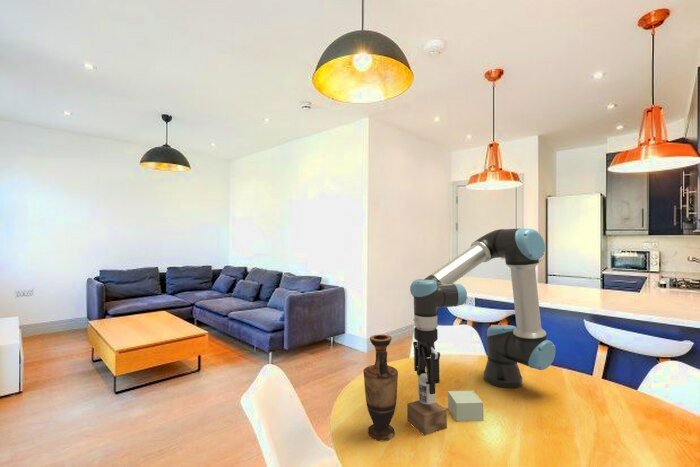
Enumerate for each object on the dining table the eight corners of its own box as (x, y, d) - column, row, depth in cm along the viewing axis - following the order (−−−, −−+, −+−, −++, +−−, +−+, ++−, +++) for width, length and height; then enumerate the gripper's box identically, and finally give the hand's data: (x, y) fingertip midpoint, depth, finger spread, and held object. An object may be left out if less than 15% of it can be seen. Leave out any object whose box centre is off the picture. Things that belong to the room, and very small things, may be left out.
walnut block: (428, 415, 118) (428, 397, 118) (447, 428, 110) (446, 409, 110) (407, 421, 114) (407, 403, 114) (424, 435, 106) (424, 416, 106)
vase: (363, 423, 113) (362, 332, 113) (396, 424, 112) (395, 332, 113) (364, 443, 102) (363, 342, 102) (400, 444, 101) (399, 342, 102)
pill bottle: (416, 401, 112) (416, 375, 112) (423, 396, 115) (423, 371, 115) (429, 406, 108) (428, 379, 108) (436, 400, 112) (436, 375, 112)
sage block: (472, 407, 123) (472, 390, 123) (483, 420, 114) (483, 402, 114) (448, 408, 122) (447, 391, 123) (456, 421, 113) (456, 403, 114)
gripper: (403, 322, 119) (404, 389, 119) (429, 336, 102) (430, 414, 102) (422, 320, 122) (423, 386, 121) (451, 333, 105) (452, 410, 104)
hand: (426, 398), depth 112 cm, fingers closed on pill bottle, 5 cm apart
